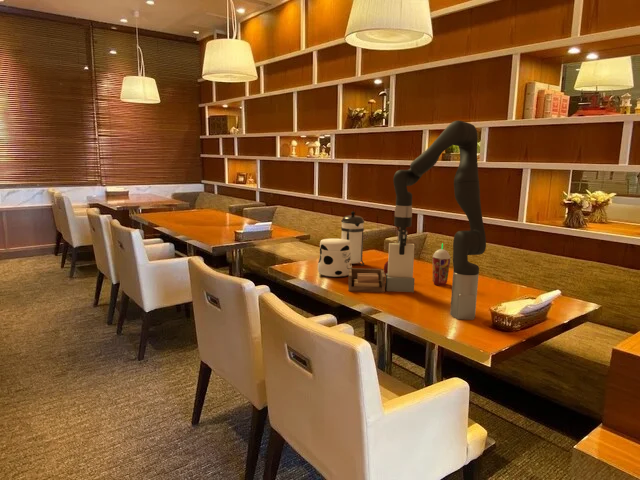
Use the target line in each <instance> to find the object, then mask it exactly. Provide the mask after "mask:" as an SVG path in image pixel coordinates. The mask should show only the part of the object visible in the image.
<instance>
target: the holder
mask: <svg viewBox="0 0 640 480" xmlns="http://www.w3.org/2000/svg"><path fill="white" fill-rule="evenodd" d="M385 292H398V293H399V292H401V293H402V292H405V293H413V295H414V294H415V277H413V278H405V277H388V274H386V276H385Z"/></svg>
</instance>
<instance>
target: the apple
mask: <svg viewBox="0 0 640 480" xmlns="http://www.w3.org/2000/svg"><path fill="white" fill-rule="evenodd" d="M383 271H384V274H385V277H386V274H388V260H387V261H386V262H385V264H384V266H383Z"/></svg>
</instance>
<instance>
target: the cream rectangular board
mask: <svg viewBox="0 0 640 480" xmlns="http://www.w3.org/2000/svg"><path fill="white" fill-rule="evenodd" d="M387 261H388V277H405V278H414V265H415V264H414V261H415V244H414V243H406V246H405V250H404V255H400V254H399V243H398V242H397V243H396V242H394V243H393V242H388V259H387Z"/></svg>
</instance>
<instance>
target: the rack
mask: <svg viewBox="0 0 640 480" xmlns="http://www.w3.org/2000/svg"><path fill="white" fill-rule="evenodd" d="M357 273H377V274H378V276H379V278H378V281H379V287H361V286H354V279H357ZM385 280H386V276H385V274H384V268H359V267H358V268H356V267H352V268H349V276H348V292H363V293H364V292H365V293H386V287H385Z"/></svg>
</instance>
